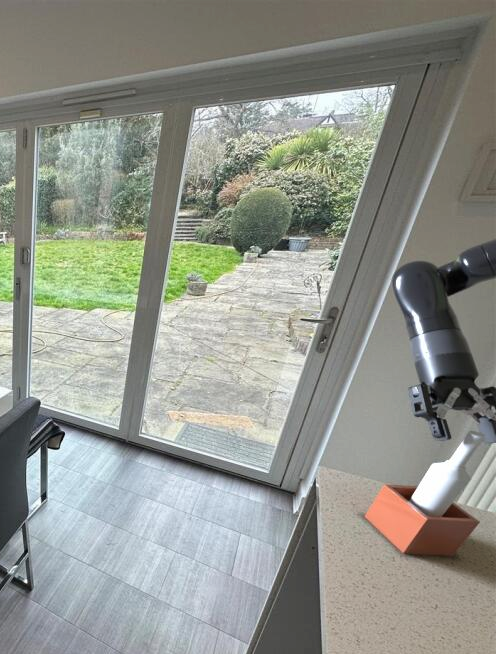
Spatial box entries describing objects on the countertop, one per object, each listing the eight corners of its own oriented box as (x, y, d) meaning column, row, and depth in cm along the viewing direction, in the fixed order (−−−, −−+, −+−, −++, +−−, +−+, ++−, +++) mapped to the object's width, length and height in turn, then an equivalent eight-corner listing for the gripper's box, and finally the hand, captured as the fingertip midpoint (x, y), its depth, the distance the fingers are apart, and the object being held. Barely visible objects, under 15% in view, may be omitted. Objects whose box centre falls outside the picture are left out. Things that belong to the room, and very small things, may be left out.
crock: (409, 518, 88) (431, 486, 84) (453, 555, 79) (480, 521, 75) (364, 516, 88) (384, 484, 84) (403, 553, 79) (427, 519, 75)
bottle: (412, 547, 81) (487, 444, 69) (383, 528, 85) (449, 428, 74) (430, 542, 82) (506, 440, 70) (400, 523, 86) (467, 424, 75)
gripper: (423, 349, 75) (449, 436, 70) (503, 352, 75) (535, 439, 70) (385, 363, 82) (407, 443, 77) (458, 366, 82) (484, 446, 77)
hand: (468, 441), depth 73 cm, fingers open, 8 cm apart
